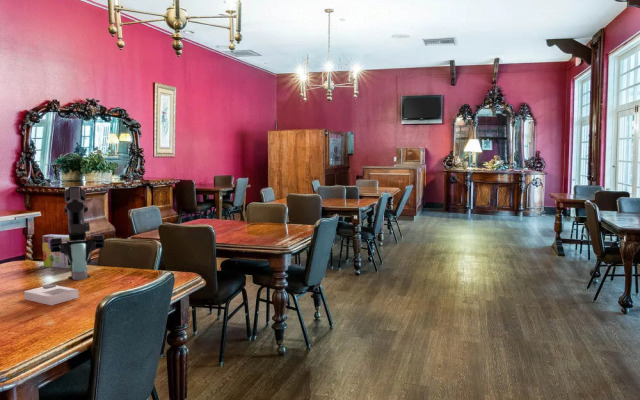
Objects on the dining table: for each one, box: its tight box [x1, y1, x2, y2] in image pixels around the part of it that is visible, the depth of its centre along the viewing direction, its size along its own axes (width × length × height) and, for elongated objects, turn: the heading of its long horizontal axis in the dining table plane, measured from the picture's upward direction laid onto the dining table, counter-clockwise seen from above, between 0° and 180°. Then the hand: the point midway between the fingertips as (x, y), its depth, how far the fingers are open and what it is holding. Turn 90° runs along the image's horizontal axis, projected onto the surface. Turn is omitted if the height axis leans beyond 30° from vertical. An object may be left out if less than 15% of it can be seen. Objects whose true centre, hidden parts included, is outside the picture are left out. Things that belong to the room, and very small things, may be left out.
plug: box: [71, 243, 88, 281], centre depth 193 cm, size 5×5×13 cm
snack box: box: [41, 233, 71, 270], centre depth 242 cm, size 21×6×15 cm, turn 71°
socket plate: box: [23, 284, 80, 306], centre depth 191 cm, size 16×11×4 cm
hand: (79, 261), depth 192 cm, fingers closed on plug, 5 cm apart
